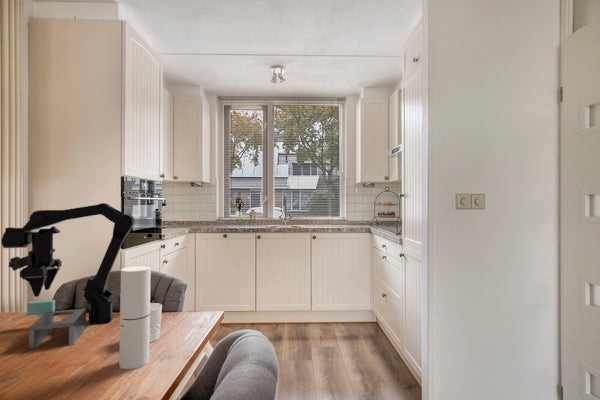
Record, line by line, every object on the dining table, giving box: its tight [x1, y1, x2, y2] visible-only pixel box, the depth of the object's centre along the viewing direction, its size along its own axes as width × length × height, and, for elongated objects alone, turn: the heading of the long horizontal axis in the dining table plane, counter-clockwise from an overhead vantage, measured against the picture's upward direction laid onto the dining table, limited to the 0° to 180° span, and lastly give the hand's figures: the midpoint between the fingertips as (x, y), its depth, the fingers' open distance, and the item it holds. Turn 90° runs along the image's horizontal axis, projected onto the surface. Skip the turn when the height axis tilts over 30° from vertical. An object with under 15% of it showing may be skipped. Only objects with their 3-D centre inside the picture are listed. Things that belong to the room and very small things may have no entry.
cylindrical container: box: [118, 265, 152, 370], centre depth 90 cm, size 7×7×25 cm
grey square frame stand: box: [28, 308, 87, 350], centre depth 105 cm, size 14×11×6 cm
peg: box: [26, 299, 56, 321], centre depth 115 cm, size 7×4×8 cm, turn 110°
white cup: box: [149, 302, 163, 343], centre depth 106 cm, size 8×8×10 cm
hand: (42, 292), depth 115 cm, fingers open, 9 cm apart
